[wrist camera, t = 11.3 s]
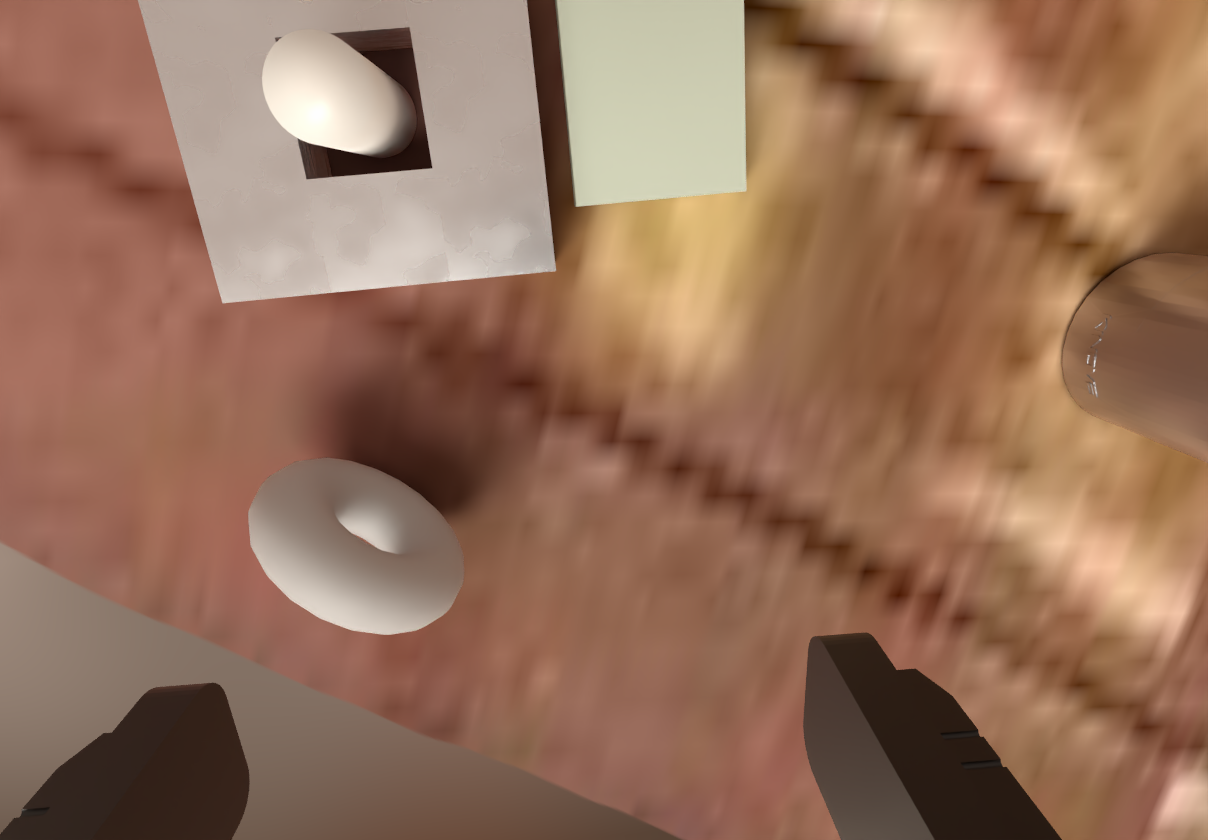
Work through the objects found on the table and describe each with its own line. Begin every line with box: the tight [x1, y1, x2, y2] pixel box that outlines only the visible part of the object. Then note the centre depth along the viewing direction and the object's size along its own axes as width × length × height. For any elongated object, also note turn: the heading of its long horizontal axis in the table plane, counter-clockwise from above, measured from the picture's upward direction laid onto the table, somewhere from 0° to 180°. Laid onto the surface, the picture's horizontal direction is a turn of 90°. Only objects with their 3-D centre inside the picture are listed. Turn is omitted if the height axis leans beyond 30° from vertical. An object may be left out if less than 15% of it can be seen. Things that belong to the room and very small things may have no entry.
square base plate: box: [555, 0, 746, 207], centre depth 28 cm, size 8×9×2 cm
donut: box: [248, 457, 464, 635], centre depth 30 cm, size 10×4×10 cm, turn 54°
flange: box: [138, 0, 556, 303], centre depth 27 cm, size 14×14×4 cm
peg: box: [262, 29, 417, 158], centre depth 25 cm, size 3×3×8 cm
